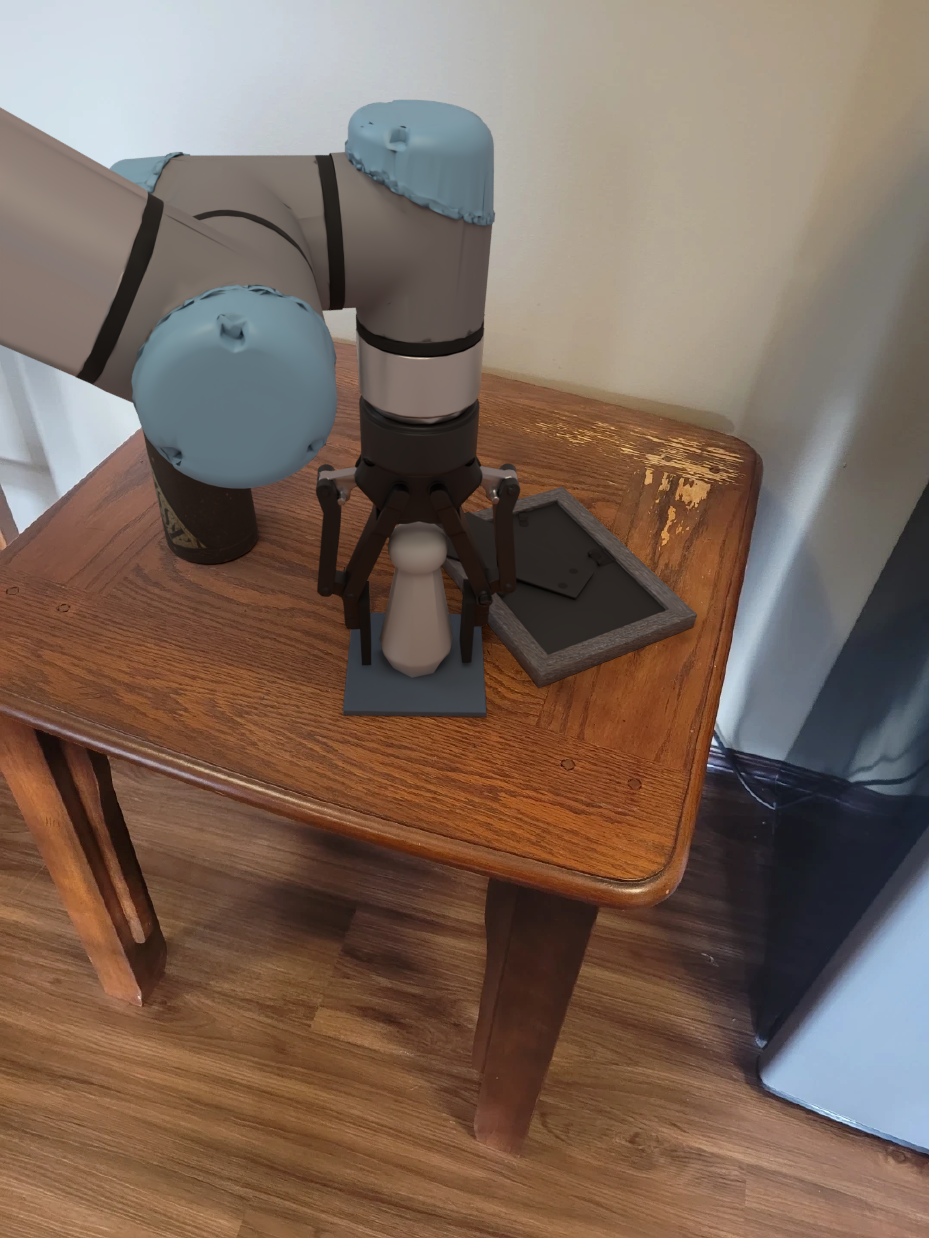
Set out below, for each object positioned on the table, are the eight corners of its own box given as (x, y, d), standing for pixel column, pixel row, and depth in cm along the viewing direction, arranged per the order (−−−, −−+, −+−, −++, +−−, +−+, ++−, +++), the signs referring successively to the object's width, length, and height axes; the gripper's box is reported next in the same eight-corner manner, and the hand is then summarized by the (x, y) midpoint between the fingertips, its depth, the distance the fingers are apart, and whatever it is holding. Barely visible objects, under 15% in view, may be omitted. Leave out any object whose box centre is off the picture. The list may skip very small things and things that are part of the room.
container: (184, 505, 83) (141, 306, 70) (274, 516, 83) (248, 317, 69) (148, 560, 77) (93, 353, 63) (245, 572, 76) (210, 367, 63)
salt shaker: (424, 696, 66) (427, 569, 57) (365, 665, 68) (359, 538, 59) (464, 652, 70) (473, 526, 61) (408, 624, 72) (408, 498, 63)
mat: (343, 715, 65) (342, 710, 65) (352, 616, 73) (352, 611, 73) (486, 717, 66) (486, 712, 65) (480, 619, 74) (480, 614, 73)
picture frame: (421, 540, 81) (538, 688, 68) (421, 523, 80) (541, 671, 67) (560, 499, 87) (693, 627, 74) (563, 482, 86) (698, 610, 73)
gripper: (569, 366, 56) (533, 617, 72) (259, 364, 54) (292, 622, 70) (590, 426, 51) (546, 683, 67) (247, 426, 49) (286, 690, 65)
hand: (416, 651), depth 68 cm, fingers open, 7 cm apart
